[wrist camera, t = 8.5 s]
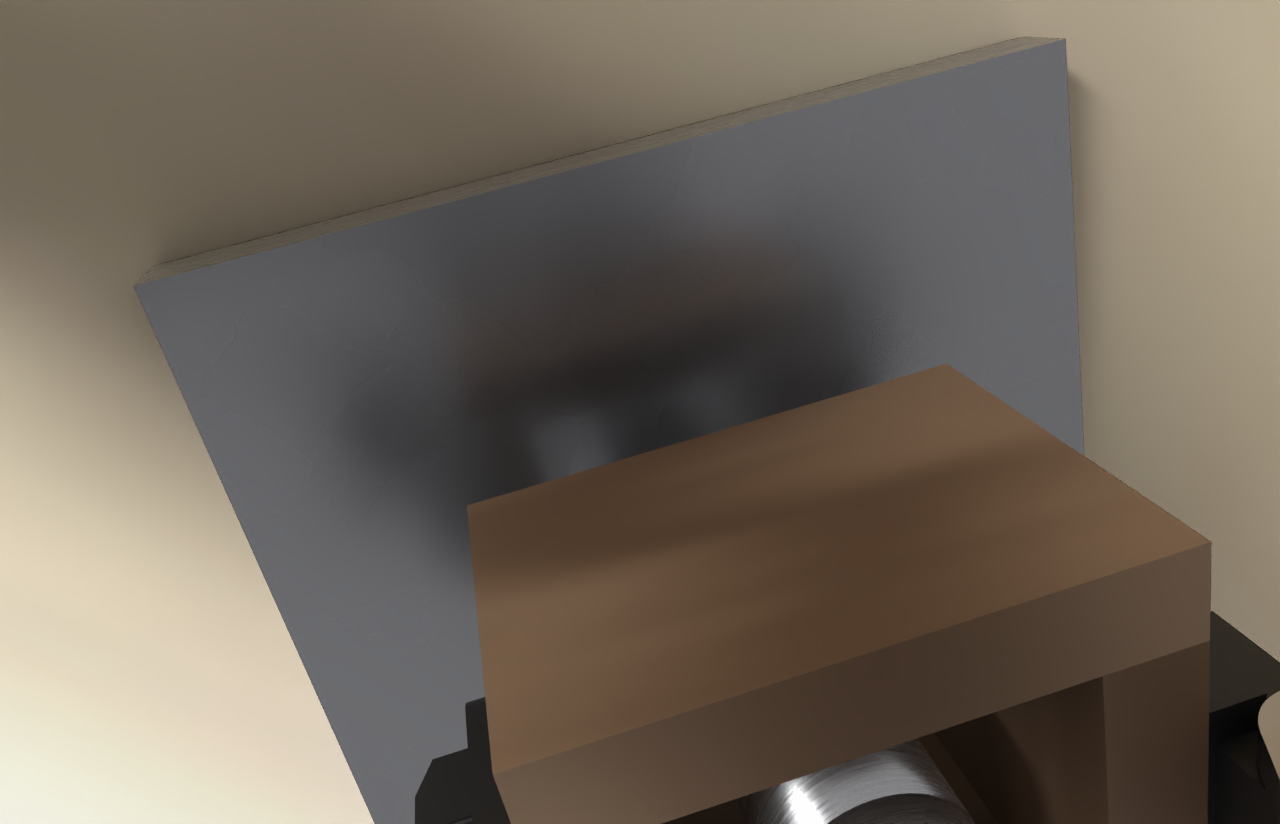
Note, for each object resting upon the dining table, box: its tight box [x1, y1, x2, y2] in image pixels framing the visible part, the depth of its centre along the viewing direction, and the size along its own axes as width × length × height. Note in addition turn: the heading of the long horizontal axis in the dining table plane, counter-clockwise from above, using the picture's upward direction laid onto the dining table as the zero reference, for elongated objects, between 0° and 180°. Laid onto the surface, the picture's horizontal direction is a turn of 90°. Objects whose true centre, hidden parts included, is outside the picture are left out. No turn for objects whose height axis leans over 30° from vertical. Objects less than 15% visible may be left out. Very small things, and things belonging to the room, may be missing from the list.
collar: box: [467, 364, 1211, 824], centre depth 11 cm, size 6×6×4 cm
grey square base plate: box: [134, 37, 1084, 824], centre depth 12 cm, size 12×12×8 cm
